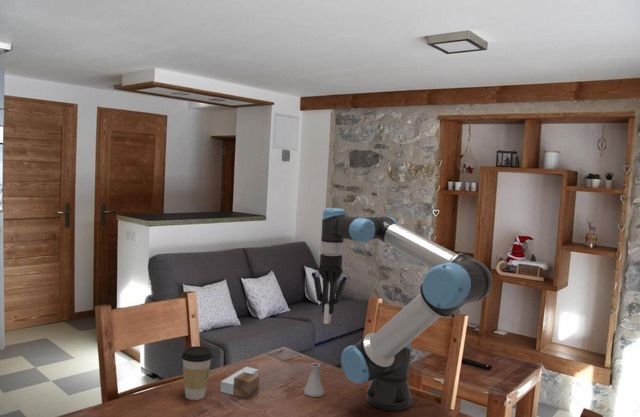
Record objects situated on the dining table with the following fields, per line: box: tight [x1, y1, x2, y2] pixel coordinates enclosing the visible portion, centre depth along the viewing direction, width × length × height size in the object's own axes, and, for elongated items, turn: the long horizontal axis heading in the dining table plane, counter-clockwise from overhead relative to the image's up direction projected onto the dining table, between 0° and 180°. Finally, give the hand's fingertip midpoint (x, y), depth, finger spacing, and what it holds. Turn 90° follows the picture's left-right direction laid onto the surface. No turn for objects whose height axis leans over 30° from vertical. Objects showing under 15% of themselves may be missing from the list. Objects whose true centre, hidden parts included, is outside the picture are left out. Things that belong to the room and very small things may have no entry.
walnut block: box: [232, 372, 260, 400], centre depth 179 cm, size 6×6×6 cm
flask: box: [303, 362, 325, 398], centre depth 183 cm, size 7×7×10 cm
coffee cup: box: [181, 345, 213, 401], centre depth 174 cm, size 10×10×15 cm
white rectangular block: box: [219, 366, 259, 396], centre depth 185 cm, size 5×16×4 cm, turn 156°
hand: (327, 322), depth 183 cm, fingers closed
